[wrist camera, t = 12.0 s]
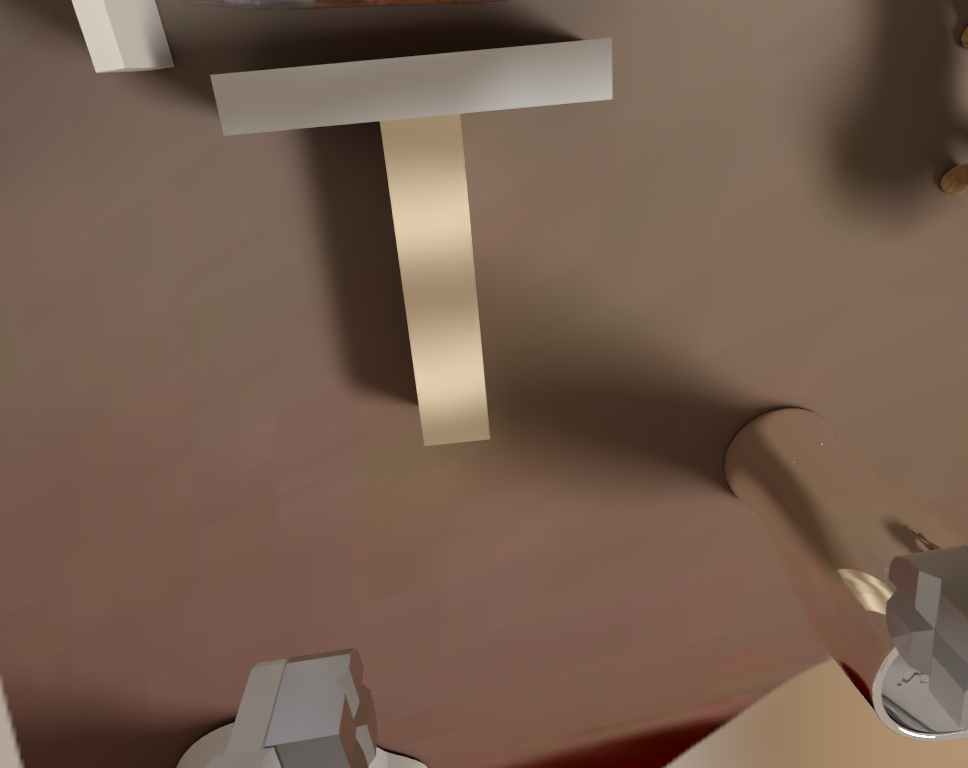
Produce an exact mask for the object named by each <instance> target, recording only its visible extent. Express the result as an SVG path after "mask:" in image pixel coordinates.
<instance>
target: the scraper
mask: <svg viewBox="0 0 968 768" xmlns="http://www.w3.org/2000/svg"><path fill="white" fill-rule="evenodd" d="M210 77H211V81H212V86H213V90H214V95H215V99H216V104H217V108H218V112H219V117H220V121H221V126H222V130H223V135H224V136H228V135H238V134H249V133H259V132H270V131H280V130H291V129H302V128H312V127H323V126H333V125H344V124H355V123H365V122H376V121H380V126H381V134H382V141H383V148H384V156H385V163H386V170H387V177H388V185H389V192H390V199H391V207H392V214H393V221H394V228H395V236H396V243H397V250H398V258H399V265H400V272H401V279H402V287H403V294H404V301H405V308H406V316H407V323H408V330H409V338H410V345H411V352H412V359H413V367H414V374H415V381H416V389H417V396H418V403H419V410H420V418H421V425H422V432H423V440H424V446H429V445H439V444H449V443H458V442H468V441H478V440H487V439H490V433H489V422H488V411H487V400H486V389H485V379H484V368H483V357H482V346H481V335H480V324H479V313H478V303H477V292H476V281H475V270H474V259H473V248H472V237H471V227H470V216H469V205H468V194H467V183H466V172H465V161H464V151H463V140H462V129H461V118H460V114H461V113H471V112H482V111H492V110H503V109H514V108H524V107H535V106H545V105H556V104H567V103H577V102H588V101H598V100H609V99H612V38H604V39H593V40H582V41H572V42H561V43H550V44H539V45H528V46H518V47H507V48H496V49H485V50H475V51H464V52H453V53H442V54H431V55H421V56H410V57H399V58H388V59H377V60H367V61H356V62H345V63H334V64H323V65H313V66H302V67H291V68H280V69H269V70H259V71H248V72H237V73H226V74H216V75H210Z"/></svg>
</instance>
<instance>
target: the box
mask: <svg viewBox="0 0 968 768" xmlns="http://www.w3.org/2000/svg"><path fill="white" fill-rule="evenodd" d="M72 3H73V6H74V9H75V12H76V15H77V18H78V21H79V24H80V27H81V30H82V32H83V35H84V38H85V41H86V44H87V47H88V50H89V53H90V56H91V59H92V62H93V65H94V68H95V71H96V73H103V72H127V71H150V70H157V69H163V68H170V67H174V63H173V60H172V56H171V53H170V50H169V46H168V43H167V40H166V36H165V33H164V29H163V26H162V23H161V19H160V16H159V13H158V9H157V6H156V2H155V0H72Z"/></svg>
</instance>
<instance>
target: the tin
mask: <svg viewBox="0 0 968 768" xmlns="http://www.w3.org/2000/svg"><path fill="white" fill-rule="evenodd" d="M183 1H188V2H194V3H202V4H209V5H216V6H224V7H232V8H244V9H316V8H344V7H368V6H392V5H420V4H450V3H473V2H494V1H506V0H183Z"/></svg>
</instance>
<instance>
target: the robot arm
mask: <svg viewBox="0 0 968 768" xmlns="http://www.w3.org/2000/svg"><path fill="white" fill-rule="evenodd" d="M888 579H889V580H890V581H891V582H892V583H893V584H894V585H895V587H896V588H897V590H896V591H895V592H894V593H893V595H892V596H891V597H890V598H889V600H888V601H887V602H886V624H887V627H888V631H889V634H890V638H891V640H892V642H893V644H894V646H895V648H896V649H897V651H898V653H899V654H900V655H901V657H902V658H903V659H904V661H905V662H906V663H907V664H908V666H910V667H912V668H914V669H916V670H918V671H920V672H922V673H924V674H926V675H928V676H929V691H930V692H931V694H932V695H933V696H934V697H935V698H936V700H937V701H938V702H939V703H940V705H941V706H942V707H943V708H944V709H945V711H946V712H947V713H948V714H949V715H950V717H951V718H952V719H953V720H954V721H955V723H956V724H957V725H958V726H959V727H960V728H964V727H968V543H965V544H961V545H960V546H951V547H946V548H940V549H934V550H929V551H923V552H917V553H912V554H906V555H901V556H895V557H894V558H893V560H892V562H891V564H890V567H889V577H888ZM363 668H364V667H363V664H362V661H361V658H360V655H359V652H358V650H356V649H355V648H351V649H345V650H338V651H331V652H324V653H317V654H310V655H303V656H296V657H290V658H289V659H280V660H273V661H266V662H259V663H257V664H256V665H255V666H254V667H253V669H252V670H251V672H250V675H249V678H248V681H247V684H246V687H245V691H244V694H243V697H242V700H241V703H240V706H239V709H238V713H237V716H236V719H235V722H234V723H231V724H228V725H226V726H223V727H221V728H218V729H216V730H214V731H212V732H210V733H209V734H207V735H205V736H204V737H202V738H201V739H200V740H198V741H197V742H196V743H194V744H193V745H192V746H191V747H190V748H189V749H188V750H187V751H186V753H185V754H184V755H183V756H182V758H181V759H180V761H179V763H178V765H177V767H176V768H427V767H426V766H425V765H424V764H423V763H421V762H419V761H416V760H413V759H410V758H407V757H403V756H399V755H395V754H391V753H388V752H385V751H383V750H381V749H380V748H378V747H377V723H376V713H375V707H374V702H373V698H372V695H371V691H370V689H368V688H367V687H366V686H364V685H363V684H362V677H363Z"/></svg>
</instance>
